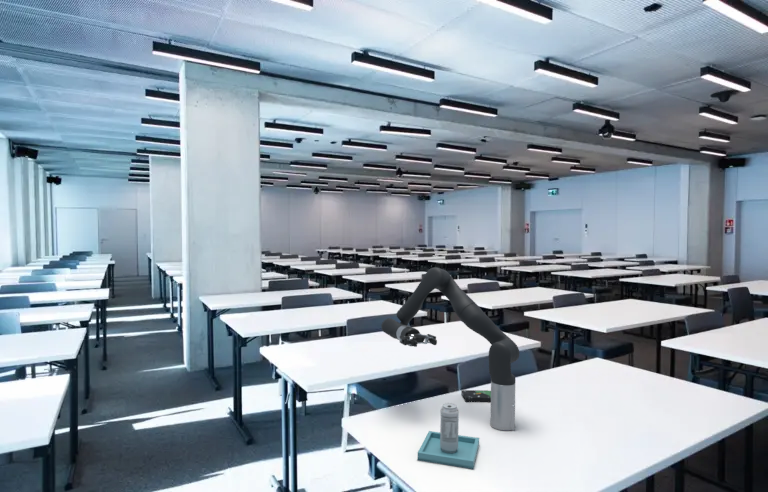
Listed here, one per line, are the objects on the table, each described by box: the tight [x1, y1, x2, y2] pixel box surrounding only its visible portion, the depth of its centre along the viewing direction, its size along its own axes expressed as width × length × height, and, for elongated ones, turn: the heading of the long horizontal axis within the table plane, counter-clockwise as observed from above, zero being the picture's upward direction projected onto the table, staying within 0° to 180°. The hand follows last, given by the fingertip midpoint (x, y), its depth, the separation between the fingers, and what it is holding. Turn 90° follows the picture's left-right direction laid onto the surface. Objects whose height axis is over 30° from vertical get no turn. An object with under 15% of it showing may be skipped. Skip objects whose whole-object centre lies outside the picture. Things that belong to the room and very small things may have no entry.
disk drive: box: [460, 389, 491, 403], centre depth 207 cm, size 10×3×15 cm
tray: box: [417, 430, 480, 470], centre depth 152 cm, size 18×18×2 cm
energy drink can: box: [439, 402, 460, 453], centre depth 152 cm, size 6×6×15 cm
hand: (426, 343), depth 175 cm, fingers open, 8 cm apart
